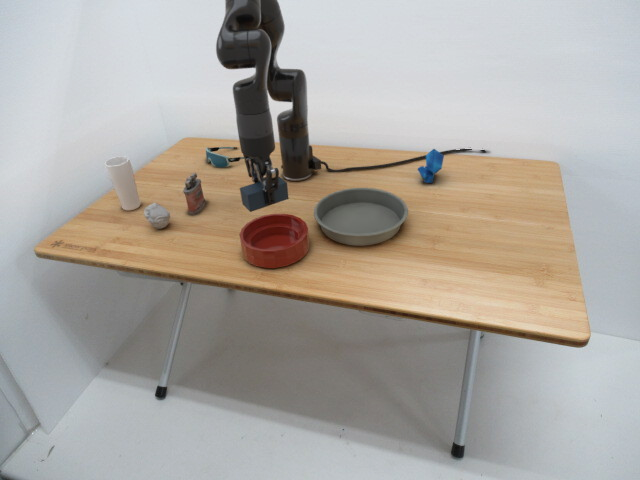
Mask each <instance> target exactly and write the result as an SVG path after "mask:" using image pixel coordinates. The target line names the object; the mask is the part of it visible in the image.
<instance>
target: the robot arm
mask: <svg viewBox="0 0 640 480" xmlns="http://www.w3.org/2000/svg"><path fill="white" fill-rule="evenodd" d="M224 3H225V4H224V6H225V7H224V8H225V10H224V11H225V13H224V14H225V15H224V18H223V21H222V23H221V26H220V29H219V31H218V35H217V38H216V43H215V53H216V54H215V55H216V59H217V60H218V62H219V64H220V65H221V66H222V67H223V68H225V69H226V70H246V69H247V70H248V69H255V72H254V74H253V75H251V76H249V77H246V78H243V79H239V80H237V81H236V82H234V83H233V85H232V96H233V102H234V107H235V108H234V109H235V116H236V117H235V120H236V128H237V134H238V141H239V147H240V152H241V154H242V157H244V159H243V160H244V163H245V167H246V169H247V174H248V177H249V178H251V181H252V184H254V183H257V182H261V183H262V187H263V191H264V198H265V204H266V205H267V207H269V205H270V206H273V205H274V203H275V197H274V191H275V190H278V181H279V177H280V171H279V168H278V167H273V162H272V159H271V154H272V153H274V151H275V150H276V140H275V134H274V124H273V118H272V117H273V116H272V114H271V110H270V109H271V108H270V101H269V97H270V99H271V100H272V101H275V102H278V103H292V105H291V106H292V107H291V108H289V109H286V110H284V111H281V112H280V113H278V114H277V116H276V123H277V132H278V133H277V134H278V140H279V149H280V158H281V159H280V160H281V165H280V169H281V170H282V177H283V179H284V180H285V181H286V180H287V181H289V182H301V181H305V180H308V179H309V178H311V177H312V176H313V175H315V171H318V170H322V165H323V166H324V167H325V169H326V170H327V171H328V172H330V173H342V172H348V171H358V170H372V169H379V168H385V167H391V166H396V165H401V164H406V163H410V162H414V161H418V160H423V159H426V155H427V154H424V155H420V156H417V157H416V156H415V157H413V158H409V159H404V160H399V161H393V162H389V163H383V164H375V165H367V166H366V165H365V166H351V167H346V168H341V169H332V168H330V167H329V165H328V163H327V162H325V161H323V160H321V159H320V158H318V157H316V156H315V155H314V153H313V152H314V151H313V146H312V145H310V136H309V135H310V134H309V123H308V122H309V120H308V114H309V113H308V112H309V111H308V110H309V107H308V81H307V76H306V73H305V71H304V70H303V69H300V68H281V67H280V66H279V63H278V59H277V56H278V51H279V48H280V46H281V43H282V41H283V38H284V35H285V32H286V31H285V30H286V25H285V20H284V17H283V13H282V9H281V6H280V2H279V1H278V0H225V1H224ZM456 149H457V148H455V149H448V150H443V151H438V152H439V153H441V154H442V155H445V154H450V153H458V152H459V153H460V152H468V151H473V150H472V149H465V148H459V149H460V150H456ZM479 151H480V152H482V153H484V154H486V153H487V151H486V150H485V149H484V150H479ZM265 182H266V184H265ZM275 204H276V203H275Z"/></svg>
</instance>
